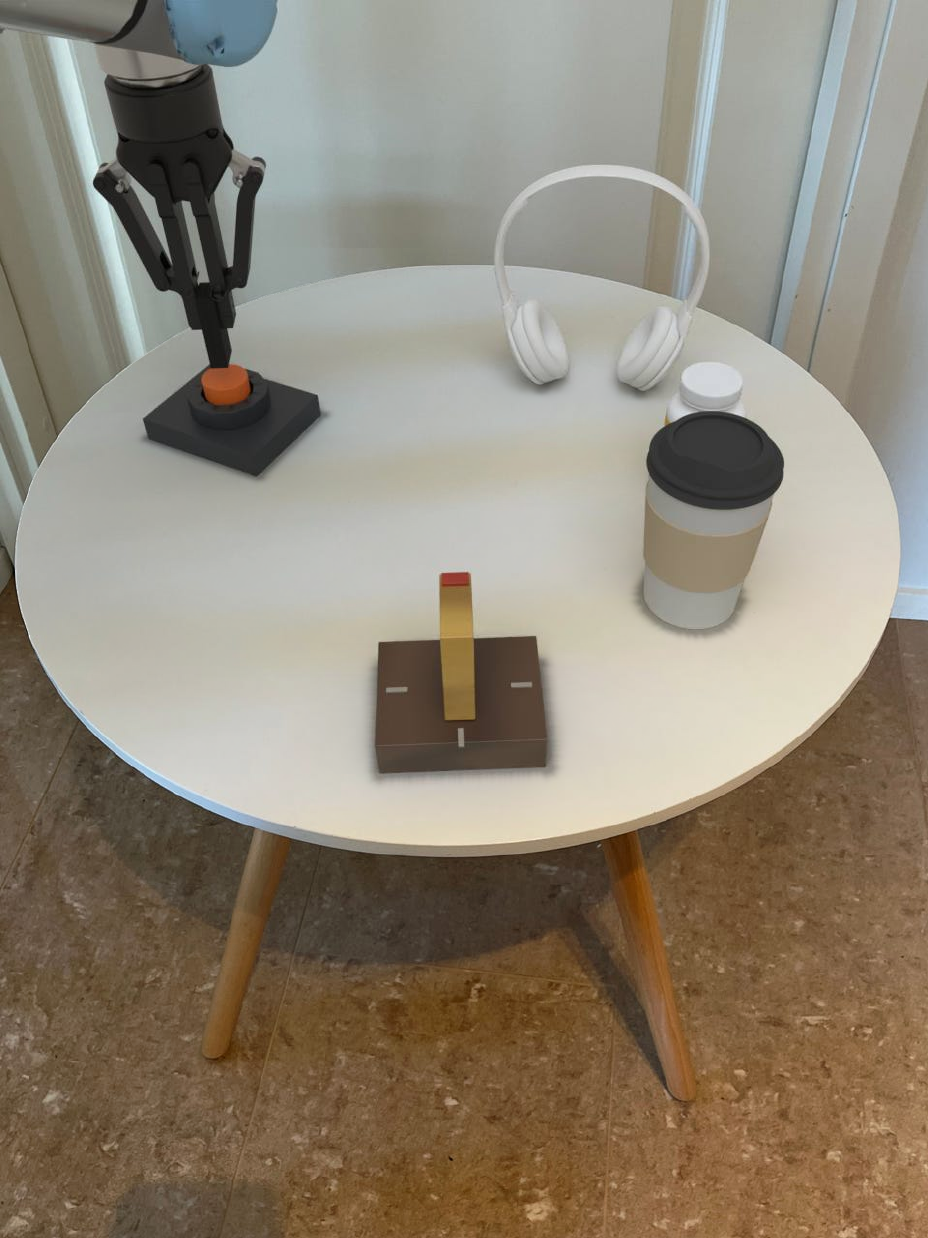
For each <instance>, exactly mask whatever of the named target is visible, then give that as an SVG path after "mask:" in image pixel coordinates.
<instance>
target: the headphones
mask: <svg viewBox="0 0 928 1238" xmlns="http://www.w3.org/2000/svg"><path fill="white" fill-rule="evenodd" d="M586 177H587V178H588V177H590V178H591V177H609V178H611V177H613V178H622V179H627V180H628V179H629V180H634V181H638V182H642V183H646V184H648V185H651V186H653V187H656V188H658V189H660V190H662V191H664V192H666V193H668V194H669V195H671V196H672V197H674V198H675V199H677V201H679V206H680V208H681V210H682V212H684V214H685V216H686V217H687V218H688V219H689V221H690V222H691V224H692V226H693V228H694V230H695V232H696V235H697V238H698V243H699V250H700V251H699V254H700V255H699V256H700V258H699V266H698V270H697V271H698V272H697V275H696V279H695V280H694V281H695V282H694V284H693V287H692V289H691V291H690V292H689V293H690V294H689V296H688V298H685V299H684V300H683V301H682V303H680V305H679V306H678V308H677V310H676V312H674V311H672V310H671V308H670V307H668V306H667V305H665V304H662V305H658V306H655V307H654V308H653V309H651V310H650V311H649V312H647V313H646V314H645V315H644V316H643V317H642V319H640V321H639V322H638V323H637V325H636V326H635V327H634V329H633V330H632V331H631V333H630V334H629V336H628V338H627V340H626V342H625V344H624V345H623V347H622V350H621V351H620V354H619V357H618V360H617V363H616V368H615V370H616V371H615V373H616V377H617V379H618V380H619V381H620V382H622V383H624V384H628V385H629V386H631V387H633V388H635V389H636V388H637V389H638V390H639V391H648V390H649V389H651V388H653V387H654V386H656V385H657V384H658V383H660V382H661V381H662V380H664V378H665V377H666V376H667V375H668V374H669V372H671V370H672V368H673V367H674V366H675V364H676V362H677V361H678V359H679V357H680V356H681V354H682V352H683V349H684V347H685V342H686V339H687V336H688V335H689V332H690V329H691V325H692V323H693V319H694V313H695V310H696V308H697V306H698V303H699V302H700V300H701V297H702V294H703V292H704V289H705V286H706V283H707V279H708V275H709V270H710V259H711V247H710V246H711V245H710V237H709V232H708V228H707V225H706V221H705V219H704V216H703V215H702V213H701V210H700V209H699V207H698V206H697V204H696V203H695V202H694V201H693V199H692V198H691V197H690V196H689V195H688V194H687V193H686V192H685V191H684V190H683V189H681V188H680V187H679V186H678V185H676V184H675V183H674V182H672V181H670V180H669V179H667V178H665V177H664V176H663V177H662V176H661V175H658V174H656V173H654V172H651V171H648V170H645V169H642V168H637V167H633V166H627V165H617V164H585V165H579V166H578V165H577V166H571V167H567V168H563V169H560V170H557V171H555V172H552V173H550V174H546V175H544V176H542V177H541V178H539V179H537V180H535V181H534V182H533V183H531V184H529V186H527V187H526V188H525V189H523V190H522V191H521V192H520V193H519V194H518V195H517V196H516V197H515V198H514V200H513V201H512V202H511V204H510V205H509V206H508V208H507V209H506V211H505V213H504V215H503V217H502V219H501V221H500V224H499V226H498V231H497V233H496V234H497V235H496V238H495V242H494V243H495V244H494V251H493V268H494V275H495V281H496V285H497V291H498V293H499V297H500V300H501V304H502V305H501V312H502V320H503V324H504V328H505V335H506V340H507V344H508V347H509V350H510V354H511V355H512V357H513V359H514V362H515V363H516V364H517V367H519V369H520V371H522V373H523V374H524V375H525V376H526V377H527V378H528V379H529V380H530V381H532V382H533V383H534V384H536V385H543V384H545V383H550V382H552V381H555V380H559V379H563V378H564V377H565V376H566V375H567V374H568V371H569V367H570V360H569V359H570V358H569V351H568V347H567V344H566V341H565V338H564V335H563V332H562V330H561V328H560V326H559V324H558V322H557V320H556V318H555V317H554V315H553V314H552V312H551V310H549V309H548V307H547V306H546V305H545V304H544V303H542V302H541V301H540V300H538V299H536V298H529V299H527V300H526V301H524V302H523V303H521V304H520V303H519V299H518V297H517V295H516V294H515V292H514V291H513V290H511V289H510V285H509V282H508V278H507V273H506V268H505V260H504V259H505V258H504V255H505V254H504V253H505V243H506V238H507V235H508V232H509V230H510V228H511V225H512V224H513V222H514V221H515V219H516V217H517V216H518V215H519V214H520V212H521V211H522V210H523V209H524V208H525V207H526V206H527V205H528V203H529V202H530V201H531V199H532V197H533V195H534V194H536V193H537V192H539V191H541V190H543V189H545V188H547V187H549V186H552V185H555V184H558V183H561V182H564V181H565V182H566V181H568V180H574V179H579V178H586Z"/></svg>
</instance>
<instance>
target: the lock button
mask: <svg viewBox="0 0 928 1238" xmlns="http://www.w3.org/2000/svg"><path fill="white" fill-rule="evenodd" d="M245 369H246V368H245ZM245 369H244V367H242V366H241V365H238V364H234V363H229V366H228V368H214V369H211V368H210V369H209V370H207V371H206V372H205V373H204V374H203V376H202V385H203V389H204V394H205V397H206V399H207V401H208V402H209V403H212V404H215V405H232V404H235V403H238V402H241V401H243V400H245V399H246V398H247V397H248V396H249V395H250V392H251V389H250V384H249V379H248V374H247V371H246V370H245Z"/></svg>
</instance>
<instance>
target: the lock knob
mask: <svg viewBox="0 0 928 1238" xmlns="http://www.w3.org/2000/svg"><path fill="white" fill-rule="evenodd" d="M438 583H439V584H438V585H439V586H438V590H439V592H438V593H439V599H438V600H439V640H440V648H441V665H442V682H443V699H444V717H445V720H474V719H475V676H474V638H475V637H474V616H473V615H474V614H473V613H474V611H473V591H472V589H473V588H472V573H471V572H470V571H457V572H441V573H439V575H438Z"/></svg>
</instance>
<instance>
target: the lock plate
mask: <svg viewBox="0 0 928 1238" xmlns="http://www.w3.org/2000/svg"><path fill="white" fill-rule="evenodd" d="M540 667H541V666H540V657H539V649H538V638H537V635H522V636H496V637H474V676H475V719H474V720H445V717H444V699H443V682H442V665H441V648H440V639H421V640H416V639H415V640H394V641H392V640H391V641H379V642H378V643H377V672H376V673H377V675H376V701H375V732H374V733H375V737H374V748H375V749H374V750H375V754H376V761H377V762H376V763H377V769H378V773H379V774H392V773H418V772H419V773H420V772H441V771H443V772H444V771H446V772H447V771H466V770H467V771H469V770H492V769H493V770H494V769H516V768H517V769H518V768H519V769H520V768H543V767H544V768H545V767H547V754H548V753H547V752H548V733H547V723H546V713H545V704H544V695H543V694H544V693H543V686H542V677H541V668H540Z"/></svg>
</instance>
